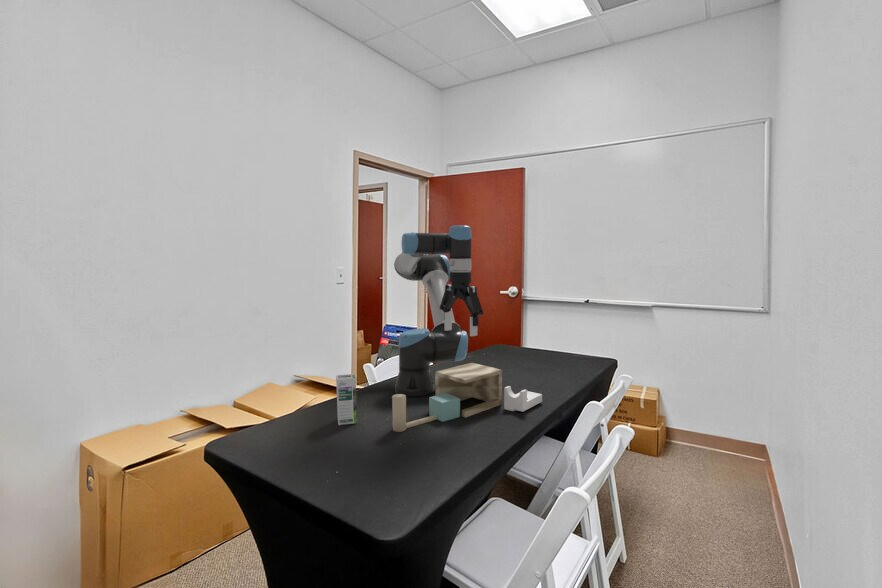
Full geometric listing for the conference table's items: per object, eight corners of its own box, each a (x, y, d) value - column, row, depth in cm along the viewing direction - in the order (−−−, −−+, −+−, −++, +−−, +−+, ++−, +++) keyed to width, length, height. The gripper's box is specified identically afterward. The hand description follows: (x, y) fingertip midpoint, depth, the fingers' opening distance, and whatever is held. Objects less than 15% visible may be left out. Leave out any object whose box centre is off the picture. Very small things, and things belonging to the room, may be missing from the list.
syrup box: (338, 425, 131) (336, 379, 130) (337, 418, 137) (336, 374, 136) (357, 423, 133) (356, 377, 131) (355, 417, 138) (354, 372, 137)
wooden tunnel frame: (435, 406, 147) (435, 371, 146) (472, 395, 159) (472, 362, 158) (465, 417, 137) (465, 379, 136) (501, 404, 149) (502, 369, 148)
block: (387, 427, 130) (387, 394, 129) (446, 410, 143) (446, 381, 143) (400, 434, 124) (399, 400, 123) (459, 416, 138) (459, 386, 137)
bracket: (522, 414, 140) (522, 391, 139) (504, 409, 145) (504, 387, 144) (542, 404, 150) (542, 382, 149) (524, 400, 154) (524, 379, 154)
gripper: (429, 270, 155) (430, 329, 157) (477, 272, 135) (476, 339, 137) (446, 270, 159) (446, 327, 161) (494, 272, 140) (493, 336, 142)
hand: (460, 332), depth 149 cm, fingers open, 13 cm apart
